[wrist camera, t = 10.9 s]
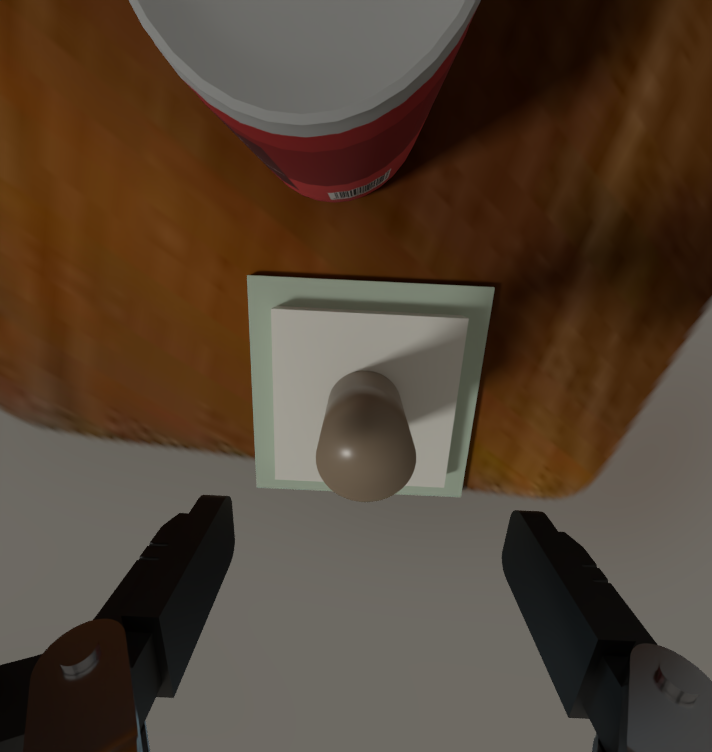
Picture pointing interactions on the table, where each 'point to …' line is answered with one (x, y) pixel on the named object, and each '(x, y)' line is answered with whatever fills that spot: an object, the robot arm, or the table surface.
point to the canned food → (315, 78)
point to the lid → (364, 397)
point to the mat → (371, 298)
